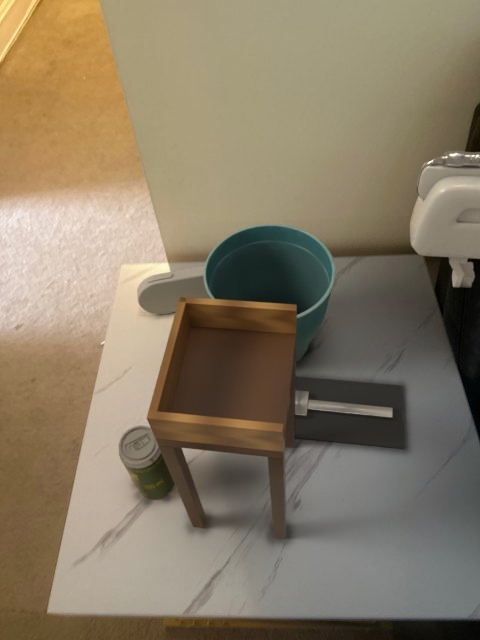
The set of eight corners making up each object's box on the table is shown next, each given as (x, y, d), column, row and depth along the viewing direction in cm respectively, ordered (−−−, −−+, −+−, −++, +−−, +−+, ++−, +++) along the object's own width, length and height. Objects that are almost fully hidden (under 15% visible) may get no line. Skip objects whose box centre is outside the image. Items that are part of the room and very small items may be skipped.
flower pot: (341, 380, 85) (351, 310, 71) (223, 399, 84) (210, 332, 71) (315, 290, 96) (319, 215, 82) (210, 306, 95) (197, 233, 82)
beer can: (163, 456, 79) (146, 415, 70) (184, 485, 77) (169, 447, 67) (130, 479, 78) (108, 440, 68) (150, 509, 75) (130, 474, 65)
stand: (295, 438, 80) (296, 304, 56) (285, 539, 71) (282, 432, 48) (212, 429, 81) (179, 296, 58) (193, 527, 73) (146, 418, 49)
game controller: (254, 288, 97) (251, 255, 91) (256, 298, 96) (254, 265, 89) (142, 308, 96) (131, 275, 90) (143, 318, 95) (132, 286, 88)
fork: (391, 402, 81) (392, 399, 81) (392, 427, 79) (393, 424, 78) (268, 390, 84) (268, 387, 83) (265, 414, 82) (264, 411, 81)
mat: (402, 386, 83) (402, 385, 83) (403, 449, 77) (404, 448, 77) (255, 374, 87) (254, 372, 86) (246, 433, 81) (245, 431, 80)
